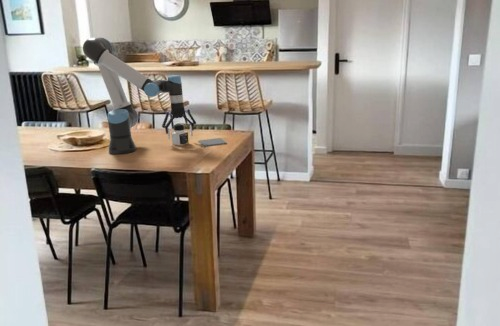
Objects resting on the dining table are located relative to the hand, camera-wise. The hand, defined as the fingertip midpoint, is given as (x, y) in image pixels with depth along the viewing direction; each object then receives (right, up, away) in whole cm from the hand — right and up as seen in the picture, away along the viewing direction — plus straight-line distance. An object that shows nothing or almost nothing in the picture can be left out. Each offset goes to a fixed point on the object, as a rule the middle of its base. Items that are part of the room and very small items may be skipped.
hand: (180, 137), depth 271 cm
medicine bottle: (0, -4, +1) cm, 4 cm away
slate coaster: (+19, -3, 0) cm, 19 cm away
